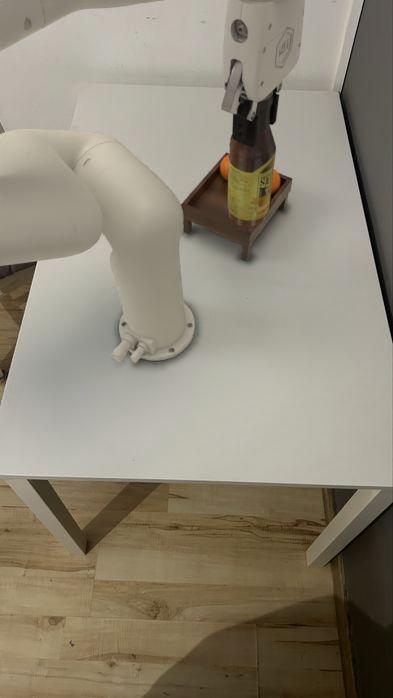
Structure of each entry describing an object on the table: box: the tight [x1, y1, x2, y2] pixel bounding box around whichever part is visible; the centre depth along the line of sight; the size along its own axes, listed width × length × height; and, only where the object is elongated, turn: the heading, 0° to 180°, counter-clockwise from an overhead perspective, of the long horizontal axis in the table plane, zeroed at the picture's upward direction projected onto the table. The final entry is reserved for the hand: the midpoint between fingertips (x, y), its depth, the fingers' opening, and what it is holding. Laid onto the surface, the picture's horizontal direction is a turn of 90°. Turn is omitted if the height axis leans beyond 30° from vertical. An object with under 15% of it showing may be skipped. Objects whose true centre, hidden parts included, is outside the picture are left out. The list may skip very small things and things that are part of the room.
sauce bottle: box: [228, 91, 277, 227], centre depth 68 cm, size 7×6×20 cm
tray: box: [180, 152, 294, 262], centre depth 92 cm, size 16×14×7 cm
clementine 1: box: [220, 155, 229, 180], centre depth 92 cm, size 5×5×5 cm
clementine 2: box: [271, 168, 280, 194], centre depth 90 cm, size 5×5×5 cm
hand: (254, 129), depth 64 cm, fingers closed on sauce bottle, 4 cm apart
